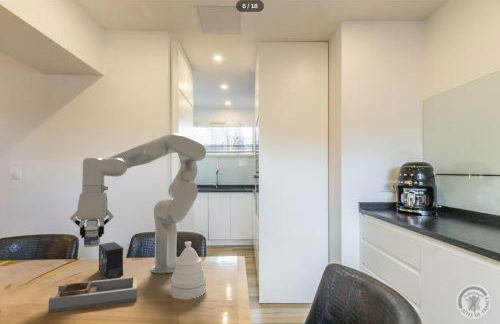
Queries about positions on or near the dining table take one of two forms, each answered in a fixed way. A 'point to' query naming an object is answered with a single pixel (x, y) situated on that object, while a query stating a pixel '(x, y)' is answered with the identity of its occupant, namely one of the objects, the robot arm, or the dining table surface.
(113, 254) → the small box
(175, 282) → the honey pot
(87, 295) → the bay
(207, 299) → the dining table surface
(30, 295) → the dining table surface
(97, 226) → the pill bottle
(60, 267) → the dining table surface
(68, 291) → the crate
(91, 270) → the dining table surface
